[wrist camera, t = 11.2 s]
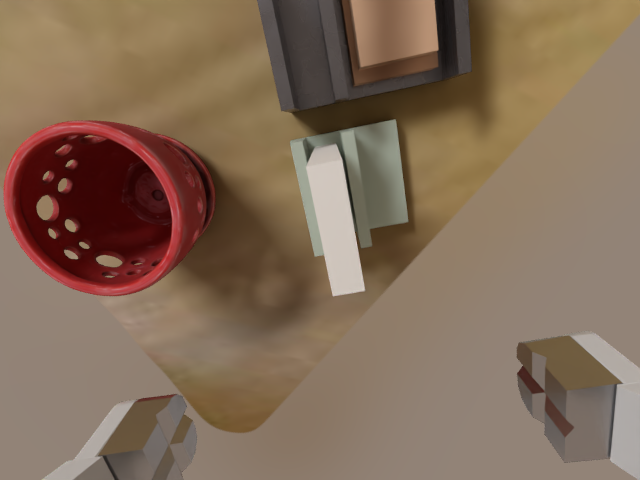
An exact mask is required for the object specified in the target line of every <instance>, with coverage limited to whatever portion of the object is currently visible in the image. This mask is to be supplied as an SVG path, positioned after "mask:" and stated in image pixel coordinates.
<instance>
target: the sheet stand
mask: <svg viewBox="0 0 640 480" xmlns="http://www.w3.org/2000/svg"><path fill="white" fill-rule="evenodd" d="M331 143H336V145H337V147H338V150H339V153H340V155H341V158H342V161H343V167H344V173H345V178H346V184H347V190H348V196H349V201H350V207H351V213H352V219H353V224H354V230H355V232H356V231H357V235H358V239H359V242H360V246H361V248H366V247H371V246H372V242H371V235H370V229H373V228H378V227H384V226H389V225H395V224H400V223H405V222H408V214H407V206H406V198H405V190H404V181H403V173H402V165H401V157H400V149H399V141H398V132H397V124H396V119H392V120H388V121H383V122H378V123H373V124H368V125H363V126H359V127H354V128H349V129H344V130H339V131H334V132H329V133H325V134H320V135H315V136H310V137H305V138H300V139H296V140H291V141H290V145H291V150H292V154H293V159H294V164H295V168H296V173H297V177H298V182H299V187H300V191H301V196H302V200H303V205H304V209H305V214H306V219H307V223H308V228H309V232H310V237H311V242H312V246H313V251H314V255H315V256H321V255H324V251H323V246H322V241H321V237H320V232H319V227H318V222H317V218H316V213H315V208H314V203H313V198H312V194H311V189H310V184H309V179H308V174H307V170H306V166H307V163H308V161H309V159H310V157H311V154H312V152H313V150H314V148H315V147H316V146H321V145H326V144H331Z"/></svg>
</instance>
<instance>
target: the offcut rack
mask: <svg viewBox="0 0 640 480" xmlns="http://www.w3.org/2000/svg"><path fill="white" fill-rule="evenodd" d="M257 2H258V6H259V11H260V15H261V20H262V24H263V29H264V34H265V38H266V43H267V47H268V52H269V56H270V61H271V65H272V70H273V74H274V79H275V84H276V88H277V93H278V97H279V102H280V106H281V111H285V112H290V113H292V112H297V111H302V110H306V109H311V108H316V107H320V106H325V105H330V104H335V103H339V102H344V101H349V100H353V99H358V98H363V97H367V96H372V95H377V94H381V93H386V92H391V91H396V90H400V89H405V88H410V87H414V86H419V85H424V84H428V83H433V82H438V81H442V80H447V79H451V78H454V77H457V76H460V75H463V74H466V73H469V72H472V64H471V46H470V28H469V9H468V0H435V13H436V25H437V37H438V51H437V55H438V67H436V68H434V69H432V70H428V71H424V72H419V73H414V74H410V75H405V76H400V77H396V78H391V79H387V80H382V81H377V82H373V83H368V84H363V85H359V86H354V87H353V83H352V76H351V70H350V63H349V57H348V50H347V44H346V37H345V31H344V24H343V18H342V11H341V5H340V0H257Z"/></svg>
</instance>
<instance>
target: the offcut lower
mask: <svg viewBox="0 0 640 480" xmlns="http://www.w3.org/2000/svg"><path fill="white" fill-rule="evenodd" d="M340 5H341V11H342V18H343V24H344V31H345V37H346V44H347V50H348V57H349V63H350V70H351V76H352V83H353V87H354V86H359V85H363V84H368V83H373V82H377V81H382V80H387V79H391V78H396V77H400V76H405V75H410V74H414V73H419V72H424V71H428V70H432V69H434V68H436V67H438V55H437V51H436V52H435V53H433V54H431V55H427V56H423V57H418V58H414V59H409V60H404V61H400V62H395V63H391V64H386V65H382V66H377V67H373V68H368V69H363V70H359V69H358V62H357V55H356V48H355V42H354V35H353V28H352V21H351V15H350V8H349V1H348V0H340Z"/></svg>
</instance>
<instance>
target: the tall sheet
mask: <svg viewBox="0 0 640 480" xmlns="http://www.w3.org/2000/svg"><path fill="white" fill-rule="evenodd" d="M306 170H307V174H308V179H309V184H310V189H311V194H312V198H313V203H314V208H315V213H316V218H317V222H318V227H319V232H320V237H321V241H322V246H323V251H324V256H325V261H326V265H327V270H328V275H329V280H330V285H331V289H332V294H333V296H337V295H343V294H349V293H355V292H361V291H365V287H364V281H363V276H362V270H361V264H360V259H359V253H358V247H357V241H356V236H355V230H354V224H353V219H352V213H351V207H350V201H349V196H348V190H347V184H346V178H345V173H344V167H343V161H342V158H341V155H340V153H339V150H338V147H337V145H336V143H331V144H326V145H321V146H316V147H315V148H314V150H313V152H312V154H311V157H310V159H309V161H308V163H307V166H306Z"/></svg>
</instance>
